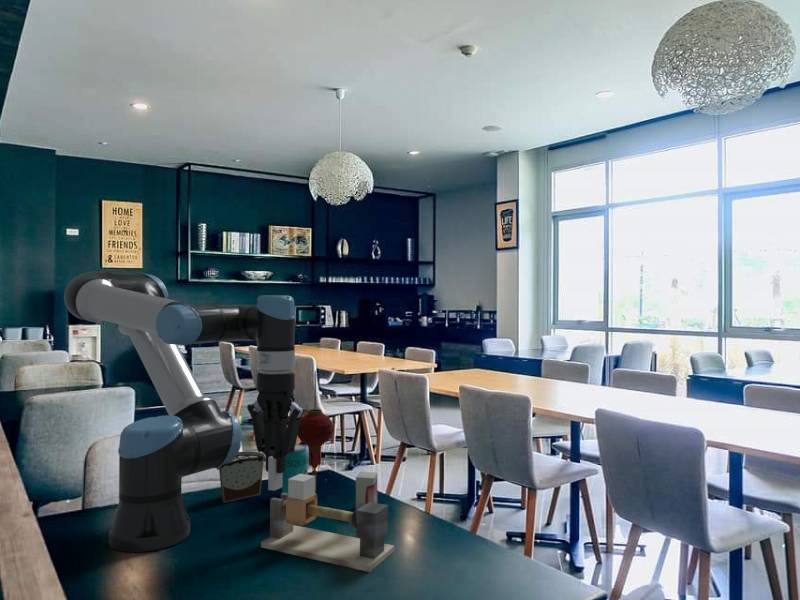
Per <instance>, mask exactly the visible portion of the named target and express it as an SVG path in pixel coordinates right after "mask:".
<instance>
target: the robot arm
mask: <svg viewBox="0 0 800 600" xmlns="http://www.w3.org/2000/svg"><path fill="white" fill-rule="evenodd" d="M63 301H64V305H65V308H66V309H67V310H68V312H69V313H70V314H72V315H73V316H74V317H75V318H77V319H79V320H84V321H86V322H91V323H101V322H105V321H106V322H109V323H112V324H115V325H116V327H117V329H118V331H119V333H120V334H122V335H124V336H128V337H129V338H130V340H131V342H132V344H133V346H134V348H135V350H136V351H137V354H138V356H139V358H140V360H141V361H142V364H143V366H144V368H145V370H146V371H147V374H148V376H149V378H150V380H151V381H152V384H153V386H154V388H155V390H156V392H157V394H158V396H159V398H160V400H161V402H162V404H163V406H164V408H165V410H166V412H167V414H168V415H158V416H152V417H145V418H141V419H139V420H136V421H134V422H131V423H129V424H128V425H127V426H125V427H124V428H123V429H122V431H121V432H120V435H119V443H118V445H119V446H118V449H117V450H118V451H117V452H118V457H119V458H118V459H119V461H118V464H119V465H118V466H119V468H118V471H119V473H118V474H119V475H118V482H119V483H118V493H119V494H118V505H117V508H116V510H115V514H114V518H113V522H112V525H111V526H110V528H109V531H108V545H109V547H110V548H112V549H114V550H117V551H118V552H119V551H120V552H129V553H130V552H131V553H139V552H140V553H142V552H150V551H151V552H152V551H158V550H163V549H166V548H169V547H171V546H174V545H177V544H179V543H181V542H182V541H183V542H184V540H186V539H187V538H188V537H189V536H190V534H191V520H190V519H191V518H190V517H189V516H188V512H187V507H186V506H185V505H186V504H185V502H184V499H183V496H182V478H183V477H186V476H191V475H195V474H197V473H201V472H205V471H207V470H212V469H216V468H217V467H220V466H221V465H224V464H226V463H229V462H230V461H232V460H233V459H234V458H235V457H236V456H237V454H238V452H240V450H241V447H242V440H243V430H242V425H241V422H240V420H239V418H238V416H236V414H234V413H233V412H230V411H227V410H223V411H222V410H221V409H220V407H219V406H218V403H217V402H216V400H215V399H214V398H212V397H211V398H210V397H206V396H205V394H204V392H203V390H202V388H201V387H200V385H199V383H198V381H197V378H196V377H195V376H194V375H195V374H194V373H193V371H192V370H191V368H190V365H189V364H188V362H187V360H186V358H185V356H184V354H183V353H182V351H181V349H180V347H179V346H187V345H193V344H197V345H198V344H207V343H223V342H224V343H225V342H239V341H242V342H249V341H250V342H251V341H252V342H256V369H257V371H259V372H258V373H257V374H256V390H257V392H258V395H257V397H256V400H255V401H254V402H253V403H250V404H247V406H246V408H247V411H248V413H249V414H250V417H251V418H250V419H251V422H252V423H251V424H252V428H253V435H254V439H255V440H254V441H255V445H256V446H255V447H256V450H257V452H260V453H264V456H265V459H266V462H265V471H266V472H267V473H268V474H267V475H268V477H267V479H268V481H267V483H268V487H267V490H268V491H273V492H274V491H277V490H279V489H282V487H283V472H285V457H286V455H288V454H291V453H293V452H294V449H295V444H297V439H298V430H299V425H300V420H301V418H302V417H303V415H304V414H305V412H306V408H305V407H303V406H299V405H298V404H297V403H296V399H295V396H294V390H295V388H296V387H295V386H296V384H295V383H296V380H295V375H296V374H295V372H294V371H293V370H294V369H296V367H295V366H296V350H295V347H296V346H295V341H296V340H295V339H296V338H295V337H296V336H295V335H296V334H295V333H296V319H297V318H296V316H297V315H296V310H295V309H296V307H295V299H294V297H292V296H290V295H274V294H273V295H272V294H271V295H259V296H258V297H257V300H256V304H253V305H252V304H236V303H235V304H230V303H228V304H191V303H186V302H182V301H178V300H174V299H170V298H169V292H168V290H167V287H166V286H165V284H164V282H163V281H162V280H161V279H160V278H159V277H157V276H155V275H153V274H147V273H143V272H132V273H131V272H130V273H129V272H114V271H102V270H101V271H99V270H96V271H88V272H83V273H81V274H79V275H77V276H75V277H74V278H73V279H72V280H70V282H69V283H68V284H67V285H66V287H65V290H64V293H63ZM289 415H290V416H289Z"/></svg>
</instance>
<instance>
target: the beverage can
mask: <svg viewBox="0 0 800 600" xmlns="http://www.w3.org/2000/svg"><path fill="white" fill-rule="evenodd" d="M307 447H308V446H307V445H306V444H299V443H296V444H295V449H294V452H293V453H291V454H288V455H286V457H285V472H283V487H281V494H282V493H288V479H289V478H292V477H294V476H296V475H298V474H306V475H309V473H308V472H309V471H308V470H309V464H308V460H309V451H308V450H307V449H308V448H307Z"/></svg>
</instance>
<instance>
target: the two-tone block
mask: <svg viewBox="0 0 800 600" xmlns="http://www.w3.org/2000/svg"><path fill="white" fill-rule="evenodd" d="M306 504H310V505H316V506H318V493H316V489H315V476H312V474H308V475H306V474H298V475H296V476H294V477H292V478H289V479H288V497H287V498H286V522H287V523H291V524H293V525H296V526H301V527H305V526H306V525H307V524H308V523H311V522H312V521H314V520H316V519H317V518H318V516H316V515H310V514H306Z"/></svg>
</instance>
